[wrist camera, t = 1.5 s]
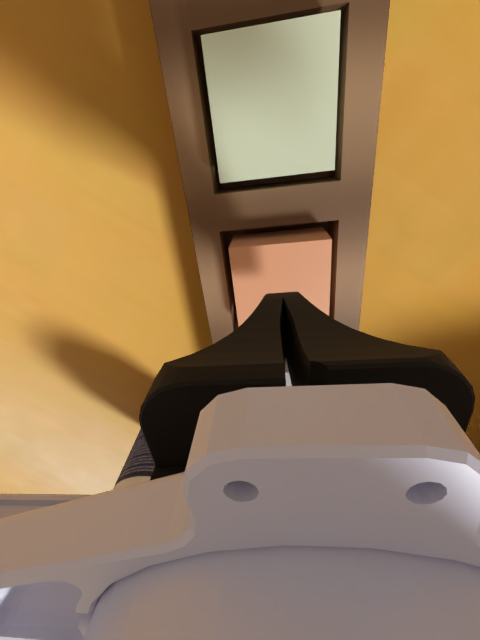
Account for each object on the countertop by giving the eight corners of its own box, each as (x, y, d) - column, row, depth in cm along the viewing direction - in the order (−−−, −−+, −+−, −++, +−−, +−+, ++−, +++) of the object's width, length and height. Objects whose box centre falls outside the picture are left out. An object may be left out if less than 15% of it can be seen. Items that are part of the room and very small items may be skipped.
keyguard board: (121, -282, 9) (65, -453, 7) (391, -370, 8) (448, -610, 6) (233, 402, 23) (229, 434, 21) (339, 400, 22) (349, 432, 20)
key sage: (212, 56, 12) (200, 35, 10) (326, 36, 11) (341, 9, 9) (226, 178, 14) (219, 183, 12) (323, 167, 13) (334, 170, 11)
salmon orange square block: (233, 235, 15) (228, 248, 13) (322, 226, 15) (332, 238, 12) (242, 312, 17) (239, 333, 15) (320, 307, 17) (328, 329, 15)
